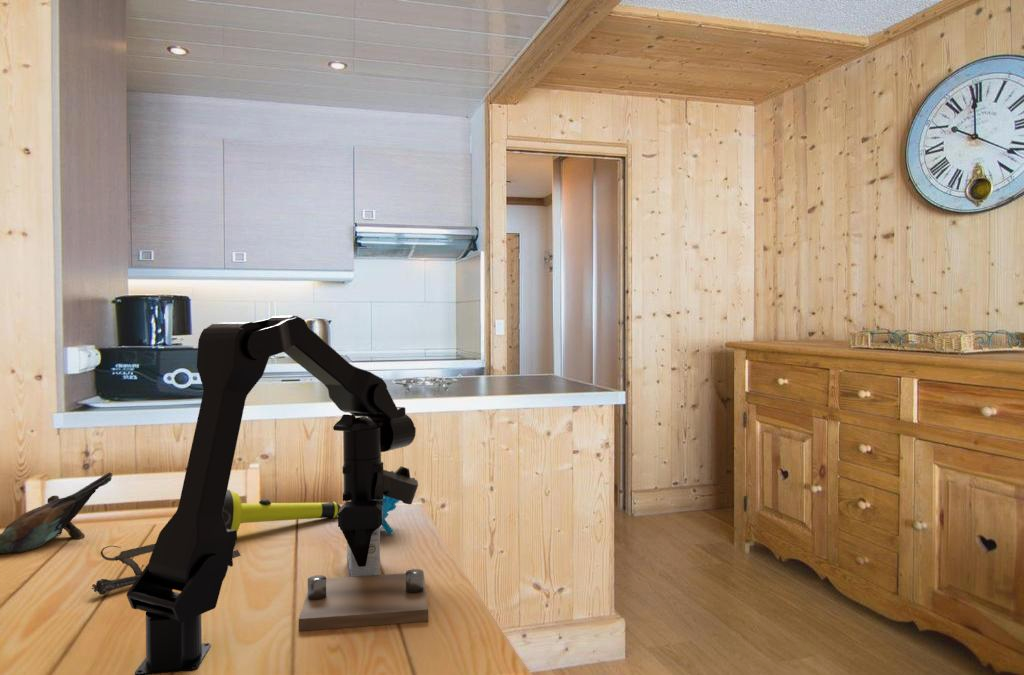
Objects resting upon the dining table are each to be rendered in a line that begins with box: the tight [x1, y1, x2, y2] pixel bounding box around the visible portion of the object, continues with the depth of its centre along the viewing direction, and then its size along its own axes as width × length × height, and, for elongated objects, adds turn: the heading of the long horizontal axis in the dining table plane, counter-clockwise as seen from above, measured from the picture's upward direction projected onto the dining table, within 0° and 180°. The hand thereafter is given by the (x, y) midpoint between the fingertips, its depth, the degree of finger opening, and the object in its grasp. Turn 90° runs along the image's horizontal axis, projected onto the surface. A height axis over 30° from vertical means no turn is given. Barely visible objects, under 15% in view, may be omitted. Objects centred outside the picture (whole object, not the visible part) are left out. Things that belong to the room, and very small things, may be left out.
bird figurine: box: [0, 472, 113, 554], centre depth 123 cm, size 13×10×20 cm
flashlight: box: [223, 489, 342, 532], centre depth 130 cm, size 25×9×9 cm, turn 128°
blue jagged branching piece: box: [374, 495, 401, 535], centre depth 126 cm, size 11×6×10 cm
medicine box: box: [346, 527, 381, 577], centre depth 108 cm, size 8×4×9 cm, turn 17°
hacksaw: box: [91, 509, 242, 596], centre depth 109 cm, size 24×3×10 cm
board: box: [298, 568, 429, 632], centre depth 95 cm, size 14×16×4 cm
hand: (363, 557), depth 108 cm, fingers closed on medicine box, 8 cm apart
